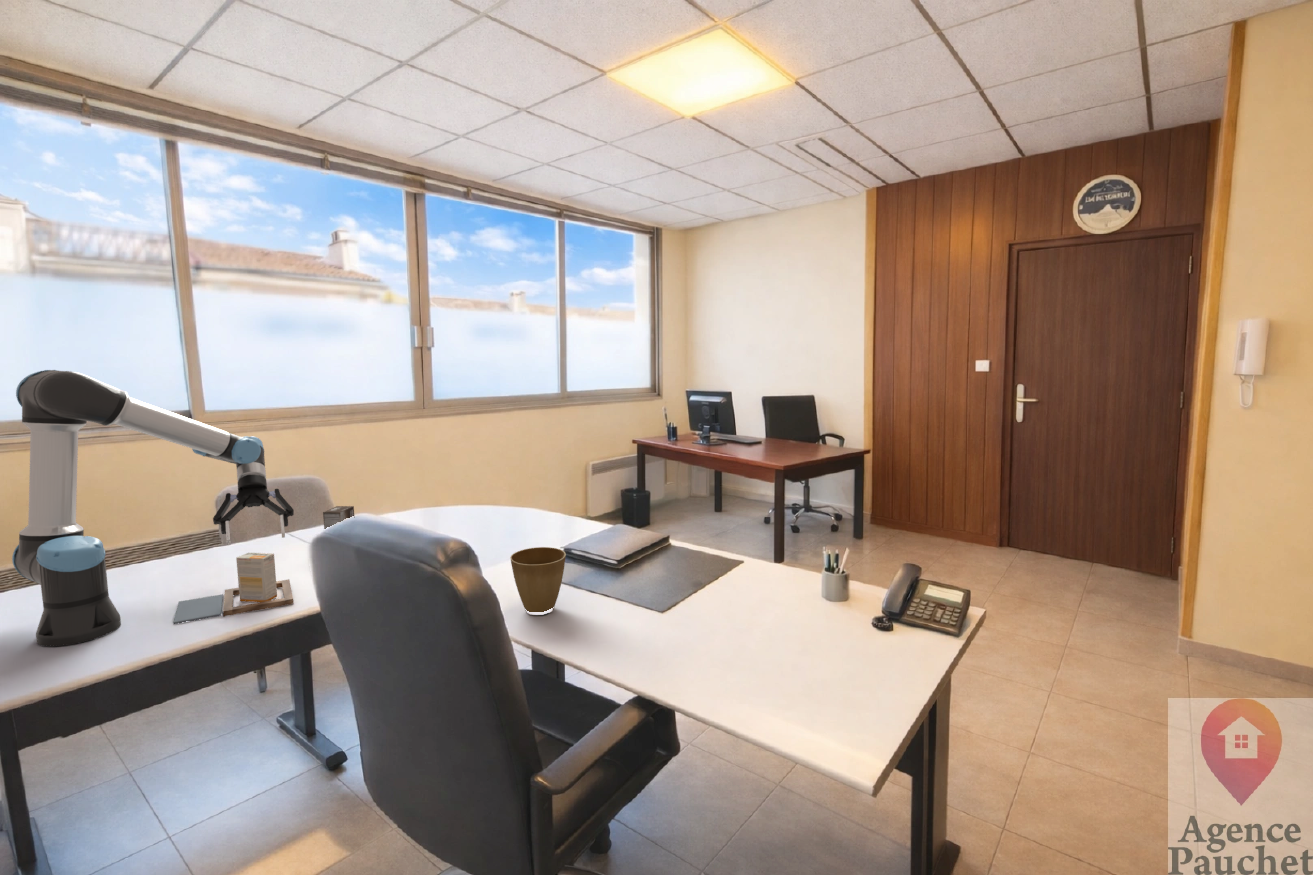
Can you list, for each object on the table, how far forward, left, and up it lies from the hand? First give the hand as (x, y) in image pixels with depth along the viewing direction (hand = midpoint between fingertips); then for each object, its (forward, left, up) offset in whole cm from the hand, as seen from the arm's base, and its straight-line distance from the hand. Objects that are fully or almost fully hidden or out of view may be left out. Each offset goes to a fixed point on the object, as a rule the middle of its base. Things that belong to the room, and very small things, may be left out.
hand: (256, 538), depth 177 cm
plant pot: (+64, -60, -15) cm, 89 cm away
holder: (0, -10, -15) cm, 18 cm away
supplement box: (0, -10, -15) cm, 18 cm away
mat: (-14, -10, -15) cm, 23 cm away
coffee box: (+25, +24, -15) cm, 38 cm away
